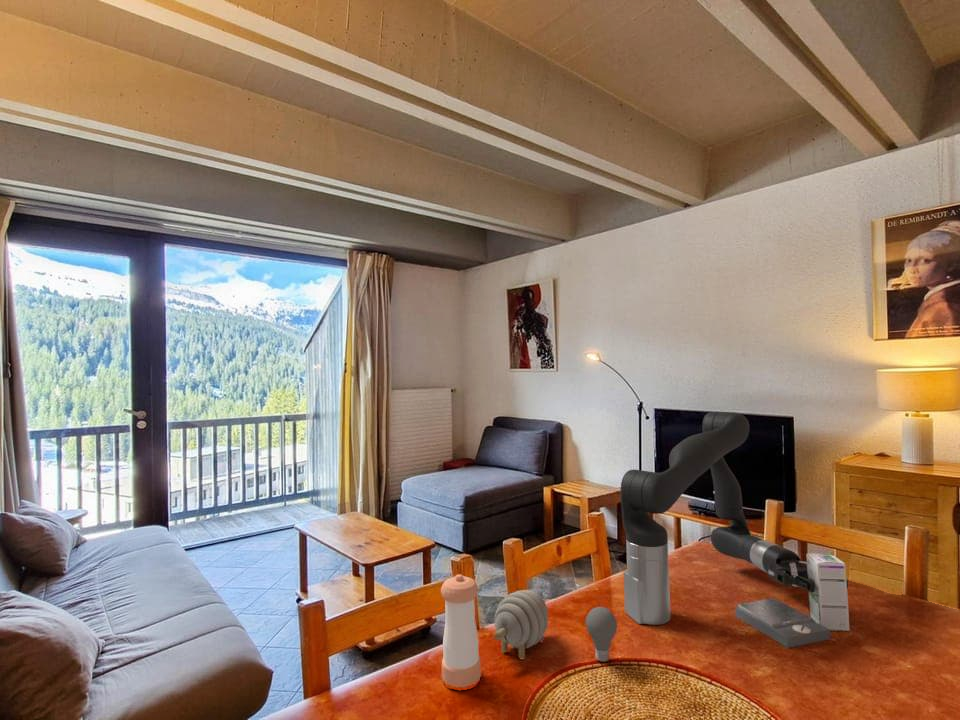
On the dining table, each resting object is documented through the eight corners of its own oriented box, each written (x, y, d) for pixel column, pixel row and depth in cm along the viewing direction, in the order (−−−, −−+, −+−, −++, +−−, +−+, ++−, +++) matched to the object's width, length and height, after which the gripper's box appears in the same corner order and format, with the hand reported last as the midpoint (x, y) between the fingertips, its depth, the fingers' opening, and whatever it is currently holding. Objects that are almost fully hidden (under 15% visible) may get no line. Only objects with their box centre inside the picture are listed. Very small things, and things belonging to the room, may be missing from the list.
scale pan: (772, 627, 104) (772, 624, 105) (738, 607, 114) (738, 604, 114) (810, 620, 107) (810, 617, 107) (774, 601, 116) (773, 598, 116)
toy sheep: (560, 636, 107) (559, 584, 107) (525, 677, 93) (524, 617, 93) (517, 624, 113) (515, 574, 113) (477, 661, 98) (476, 604, 99)
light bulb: (596, 671, 94) (594, 617, 94) (581, 654, 100) (580, 603, 100) (624, 665, 96) (622, 612, 96) (608, 649, 101) (606, 599, 102)
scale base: (787, 647, 100) (786, 636, 100) (735, 616, 114) (735, 605, 114) (830, 639, 103) (829, 628, 103) (774, 609, 117) (774, 599, 117)
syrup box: (850, 631, 106) (847, 563, 106) (820, 629, 107) (816, 561, 108) (837, 618, 112) (834, 553, 112) (808, 617, 113) (805, 552, 113)
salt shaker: (436, 688, 90) (434, 581, 91) (448, 665, 97) (446, 566, 98) (475, 693, 88) (473, 584, 89) (484, 670, 95) (482, 569, 96)
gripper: (748, 547, 124) (800, 571, 108) (798, 542, 126) (857, 566, 110) (749, 577, 124) (802, 606, 108) (799, 572, 126) (858, 600, 110)
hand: (829, 586), depth 109 cm, fingers open, 8 cm apart
